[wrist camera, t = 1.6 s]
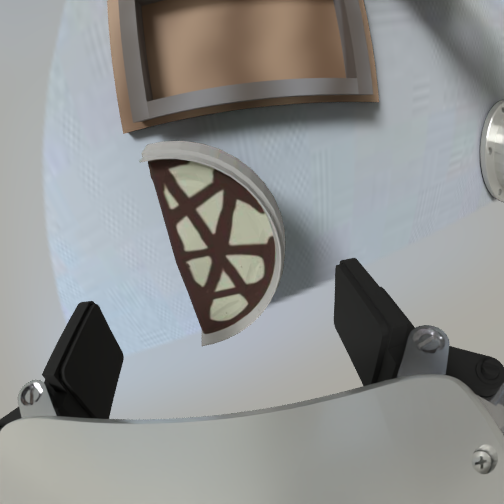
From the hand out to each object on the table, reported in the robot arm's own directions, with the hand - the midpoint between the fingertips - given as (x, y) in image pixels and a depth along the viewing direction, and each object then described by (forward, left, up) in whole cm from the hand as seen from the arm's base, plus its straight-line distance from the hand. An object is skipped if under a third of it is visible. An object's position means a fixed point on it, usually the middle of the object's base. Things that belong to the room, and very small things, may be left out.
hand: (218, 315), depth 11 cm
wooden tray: (-4, -13, -14) cm, 20 cm away
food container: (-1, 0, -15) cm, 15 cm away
